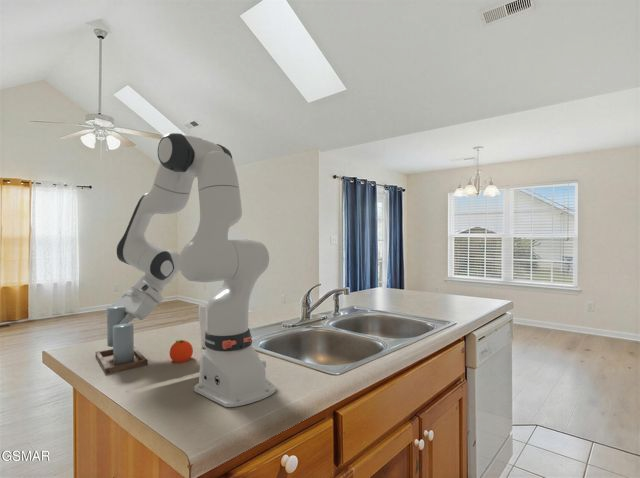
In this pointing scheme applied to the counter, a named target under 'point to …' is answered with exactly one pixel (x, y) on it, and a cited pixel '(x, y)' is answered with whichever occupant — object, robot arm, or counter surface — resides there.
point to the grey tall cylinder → (123, 344)
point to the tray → (107, 364)
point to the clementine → (181, 351)
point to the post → (114, 321)
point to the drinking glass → (203, 323)
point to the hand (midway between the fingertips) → (114, 325)
